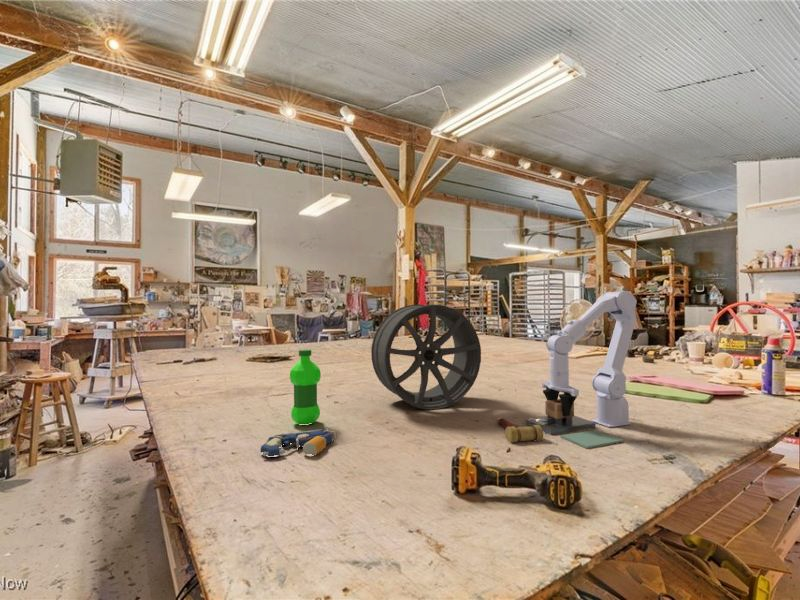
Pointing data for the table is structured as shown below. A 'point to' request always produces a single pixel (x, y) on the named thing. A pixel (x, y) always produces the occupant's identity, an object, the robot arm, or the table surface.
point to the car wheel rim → (429, 356)
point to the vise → (560, 424)
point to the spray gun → (298, 442)
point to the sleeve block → (556, 409)
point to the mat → (591, 439)
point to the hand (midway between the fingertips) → (559, 413)
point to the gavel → (521, 432)
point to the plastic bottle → (305, 389)
